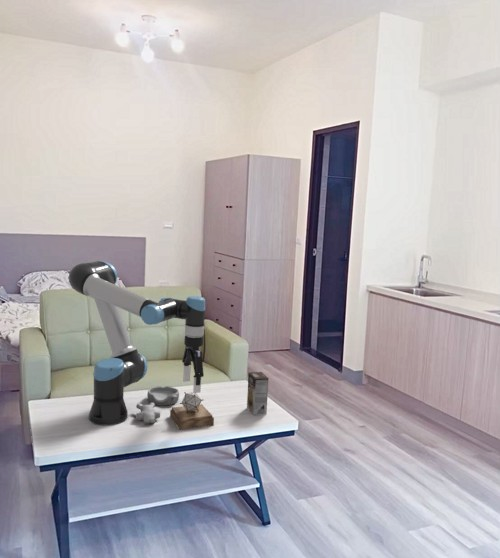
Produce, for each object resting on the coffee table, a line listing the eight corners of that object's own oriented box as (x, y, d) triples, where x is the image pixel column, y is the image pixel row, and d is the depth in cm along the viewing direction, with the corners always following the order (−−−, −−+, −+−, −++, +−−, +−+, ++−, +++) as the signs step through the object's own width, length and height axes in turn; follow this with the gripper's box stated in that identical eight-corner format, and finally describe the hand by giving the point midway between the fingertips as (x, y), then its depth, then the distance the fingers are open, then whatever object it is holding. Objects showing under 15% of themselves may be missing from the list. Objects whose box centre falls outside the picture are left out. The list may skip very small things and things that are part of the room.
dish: (180, 406, 235) (180, 395, 235) (148, 407, 232) (148, 396, 231) (176, 394, 249) (177, 384, 249) (146, 396, 246) (146, 385, 245)
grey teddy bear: (137, 416, 211) (134, 399, 225) (137, 428, 212) (133, 410, 226) (161, 415, 214) (156, 397, 228) (161, 426, 215) (156, 408, 229)
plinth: (179, 429, 210) (180, 419, 209) (170, 416, 223) (170, 407, 222) (213, 425, 216) (214, 415, 215) (202, 412, 228) (202, 403, 228)
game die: (186, 420, 218) (171, 401, 217) (197, 407, 225) (183, 388, 224) (200, 415, 213) (185, 395, 212) (211, 402, 220) (196, 382, 218)
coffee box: (246, 407, 236) (247, 372, 234) (260, 406, 238) (261, 371, 236) (252, 415, 228) (254, 378, 226) (267, 414, 230) (268, 377, 228)
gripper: (213, 343, 205) (210, 396, 208) (193, 327, 227) (191, 376, 230) (194, 344, 202) (192, 398, 205) (176, 328, 224) (174, 377, 227)
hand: (191, 386), depth 217 cm, fingers open, 13 cm apart
